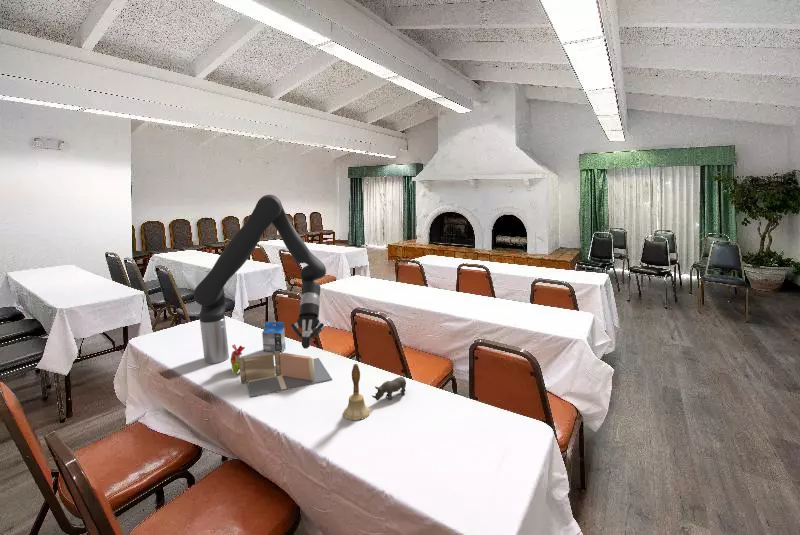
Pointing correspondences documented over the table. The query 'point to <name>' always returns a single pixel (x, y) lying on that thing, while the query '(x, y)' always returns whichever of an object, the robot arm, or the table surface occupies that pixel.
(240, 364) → the fence post section
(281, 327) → the label tape box
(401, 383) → the rhino figurine
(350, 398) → the hand bell
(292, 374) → the swing fence panel
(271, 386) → the card
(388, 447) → the table surface
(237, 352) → the bird rattle
